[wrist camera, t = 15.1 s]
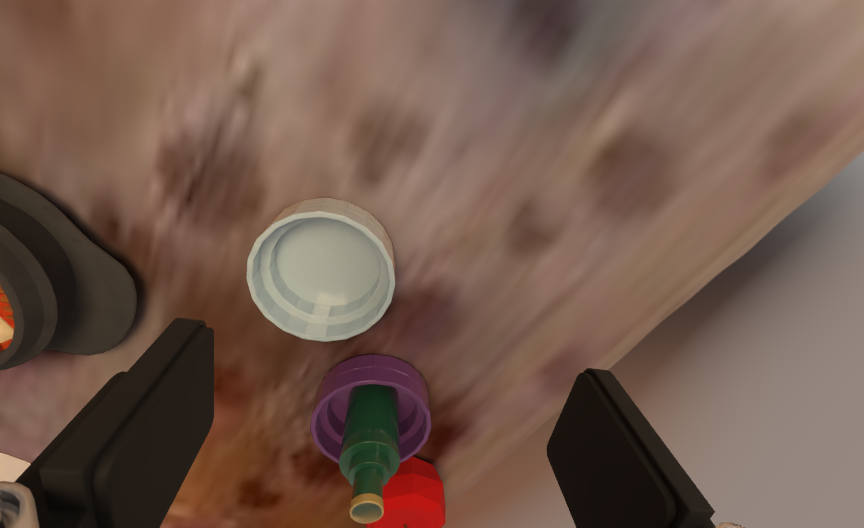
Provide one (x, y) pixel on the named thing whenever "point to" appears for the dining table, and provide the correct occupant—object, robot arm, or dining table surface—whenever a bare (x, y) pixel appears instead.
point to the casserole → (55, 283)
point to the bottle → (370, 447)
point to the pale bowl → (322, 270)
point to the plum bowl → (363, 372)
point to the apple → (413, 498)
